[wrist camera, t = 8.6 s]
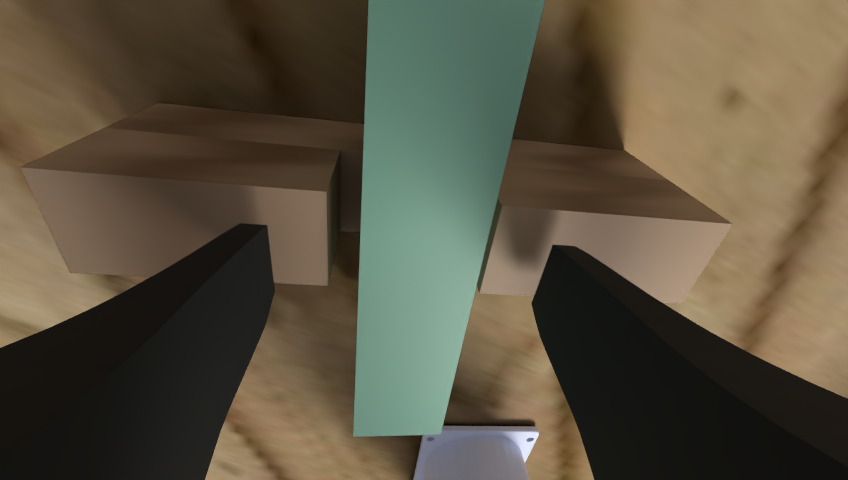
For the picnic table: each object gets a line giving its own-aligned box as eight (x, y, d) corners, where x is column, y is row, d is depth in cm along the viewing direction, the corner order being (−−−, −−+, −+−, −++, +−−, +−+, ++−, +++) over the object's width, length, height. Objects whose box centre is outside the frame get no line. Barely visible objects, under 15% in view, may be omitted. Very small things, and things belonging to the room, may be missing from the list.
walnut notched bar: (624, 150, 16) (732, 224, 11) (598, 213, 17) (681, 303, 12) (157, 102, 14) (20, 167, 9) (176, 180, 15) (69, 272, 10)
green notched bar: (376, -62, 11) (372, -118, 6) (480, -46, 11) (565, -83, 6) (360, 313, 18) (353, 436, 13) (424, 314, 18) (440, 434, 13)
